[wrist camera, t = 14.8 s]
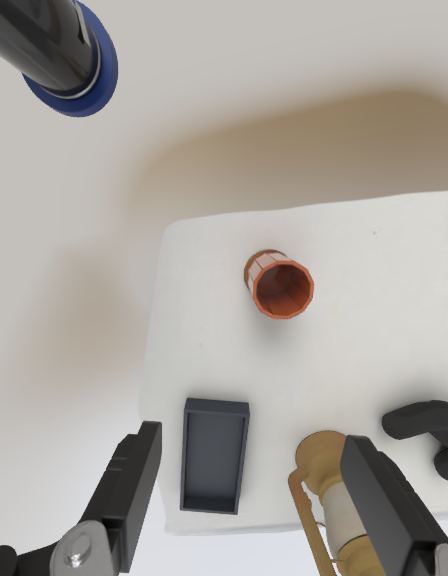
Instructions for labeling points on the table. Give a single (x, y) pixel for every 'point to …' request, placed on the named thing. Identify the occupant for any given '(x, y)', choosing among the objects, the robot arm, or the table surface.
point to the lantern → (331, 509)
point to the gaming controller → (421, 426)
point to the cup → (279, 285)
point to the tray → (213, 455)
